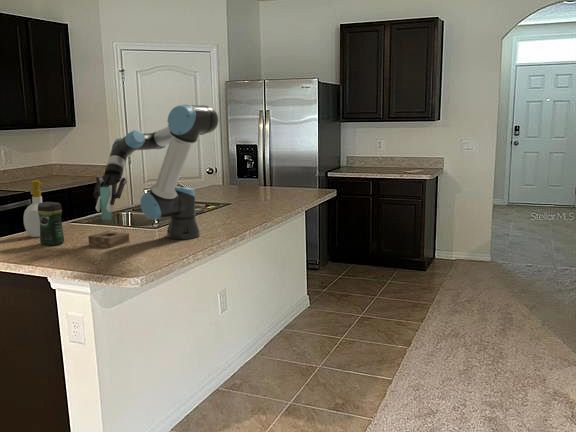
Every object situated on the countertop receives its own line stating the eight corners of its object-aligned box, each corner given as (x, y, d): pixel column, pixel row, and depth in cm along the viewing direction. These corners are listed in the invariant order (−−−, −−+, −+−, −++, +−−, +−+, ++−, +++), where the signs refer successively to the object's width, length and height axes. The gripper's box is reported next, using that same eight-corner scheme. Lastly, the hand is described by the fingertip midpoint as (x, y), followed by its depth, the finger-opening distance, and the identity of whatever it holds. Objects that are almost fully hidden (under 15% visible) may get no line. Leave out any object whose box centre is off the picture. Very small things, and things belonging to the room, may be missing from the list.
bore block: (129, 242, 250) (128, 233, 249) (110, 247, 239) (110, 238, 239) (108, 239, 255) (107, 231, 254) (88, 245, 244) (88, 236, 243)
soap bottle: (32, 239, 255) (27, 182, 251) (20, 237, 260) (15, 181, 256) (60, 234, 267) (56, 179, 262) (48, 232, 272) (44, 178, 267)
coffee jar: (67, 242, 249) (64, 201, 246) (54, 246, 242) (51, 203, 239) (50, 241, 253) (47, 200, 250) (37, 244, 245) (33, 202, 242)
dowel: (113, 218, 247) (111, 187, 244) (107, 220, 243) (105, 188, 241) (106, 218, 248) (104, 186, 246) (99, 219, 245) (98, 187, 242)
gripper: (135, 173, 257) (124, 215, 244) (99, 173, 258) (86, 214, 245) (131, 162, 251) (119, 205, 237) (93, 162, 252) (80, 204, 239)
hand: (102, 210), depth 241 cm, fingers closed on dowel, 4 cm apart
